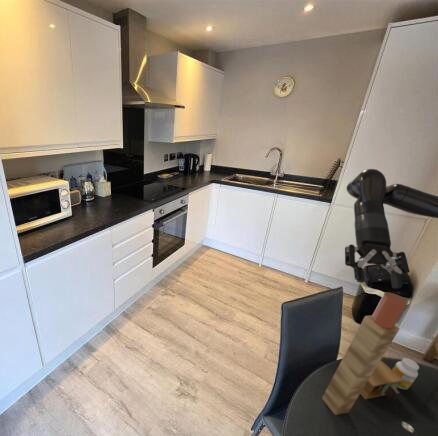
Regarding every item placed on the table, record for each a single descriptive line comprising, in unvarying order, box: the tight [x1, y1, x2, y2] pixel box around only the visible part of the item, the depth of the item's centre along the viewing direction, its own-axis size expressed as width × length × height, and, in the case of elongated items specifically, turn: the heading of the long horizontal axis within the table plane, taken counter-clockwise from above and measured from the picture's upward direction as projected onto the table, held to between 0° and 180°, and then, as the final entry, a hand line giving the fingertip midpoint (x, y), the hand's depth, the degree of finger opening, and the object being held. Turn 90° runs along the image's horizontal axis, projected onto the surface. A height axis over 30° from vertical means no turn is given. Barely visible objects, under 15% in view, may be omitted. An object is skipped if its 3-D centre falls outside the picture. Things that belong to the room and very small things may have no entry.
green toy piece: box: [380, 382, 400, 401], centre depth 79 cm, size 5×3×5 cm, turn 101°
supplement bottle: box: [391, 357, 420, 390], centre depth 84 cm, size 5×5×10 cm
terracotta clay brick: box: [371, 291, 409, 329], centre depth 63 cm, size 4×4×8 cm
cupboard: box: [359, 359, 403, 400], centre depth 83 cm, size 12×7×7 cm, turn 101°
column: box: [321, 314, 401, 416], centre depth 71 cm, size 5×5×35 cm
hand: (378, 285), depth 67 cm, fingers open, 8 cm apart
